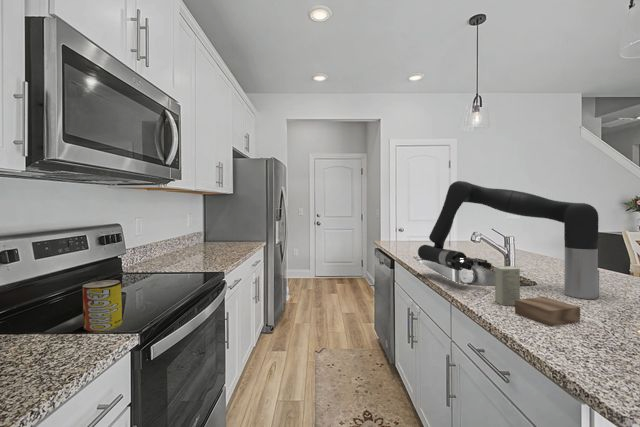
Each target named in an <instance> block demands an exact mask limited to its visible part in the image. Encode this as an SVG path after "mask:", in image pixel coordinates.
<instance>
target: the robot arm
mask: <svg viewBox="0 0 640 427" xmlns="http://www.w3.org/2000/svg"><path fill="white" fill-rule="evenodd" d="M464 203H468V204H469V203H471V204H478V205H479V204H480V205H483V206H486V207H489V208H491V209H494V210H497V211H500V212H503V213H507V214H511V215H517V216H522V217H529V218H539V219H548V220H552V221H555V222H559V223H562V224H564V233H563V234H564V236H563V239H564V281H563V282H564V286H563V287H564V292H563V293H564V295H566V296H568V297H572V298H577V299H587V300H594V299H595V300H596V299H598V297H600V270H599V268H598V266H599V265H598V264H599V249H598V248H599V213H598V210H597V209H596V208H595V207H594V206H593V205H591V204H588V203H585V202H584V203H583V202H568V201H559V200H553V199H549V198H546V197H543V196H540V195H536V194H532V193H528V192H524V191H519V190H513V189H505V188H491V187H490V188H489V187H485V186H480V185H478V184H474V183H471V182H467V181H465V180H464V181H463V180H459V181H455V182H452V183H451V184H450V185H449V186H448V190H447V193H446V195H445V200H444V203H443V206H442V208H441V211H440V213H439V216H438V217H437V220H436V222H435V224H434V226H433V228H432V230H431V232H430V234H429V237H428V239H429V240H430V242H432V243H434V245H433V246H432V245H429V244H423V245H420V246H419V247H418V249H417V255H418V257H419V258H420V259H421V260H423V261H427V262H428V261H429V262H432V263H436V264H438V265H441V266H444V267H446V268H448V269H453V270H456V271H462V270H463V269H464V270H468V271H472V268H474V269H477V268H483V269H486V270H487V269H488V270H491V269H492V263H491V262H488V260H487V259H482V258H478V257H475V258H474V257H468V256H467V255H466V254H465V253H464V252H462V251H458V250H453V249H445V248H444V246H445V241H446V240H447V238H448V236H449V234H450V232H451V230H452V227H453V224H454V219H455V217H456V214H457V212H458V210H459V208H460V207H462V204H464Z"/></svg>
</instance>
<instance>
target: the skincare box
mask: <svg viewBox="0 0 640 427" xmlns="http://www.w3.org/2000/svg"><path fill="white" fill-rule="evenodd" d="M520 272H521V270H520V268H518V267H516V266H512V265H506V266H494V282H495V283H494V288H495V289H494V291H495V293H494V298H495V302H496V303H498V304H499V305H500V306H515V300H518V299H521V291H520V290H521V289H520V288H521V287H520V285H521V284H520V283H521V281H520V280H521V279H520V276H521V275H520Z"/></svg>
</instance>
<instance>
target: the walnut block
mask: <svg viewBox="0 0 640 427" xmlns="http://www.w3.org/2000/svg"><path fill="white" fill-rule="evenodd" d="M514 314H515V315H518V316H521V317H524V318H527V319H529V320H531V321H535V322H537V323H540V324H542V325H546V326H548V327H555V326H561V324H562V325H568V323H569V324H575V322H576V323H580V322H581V306H578V305H573V304H570V303H566V302H563V301H559V300H556V299H553V298H548V297H545V296H537V297H528V298H520V299H518V300H515V305H514Z"/></svg>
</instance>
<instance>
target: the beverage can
mask: <svg viewBox="0 0 640 427" xmlns="http://www.w3.org/2000/svg"><path fill="white" fill-rule="evenodd" d="M122 301H123V300H122V281H121V280H117V279H108V280H100V281H99V280H98V281H93V282H89V283H85V284H83V285H82V314H83V315H82V317H83V320H82V322H83V331H84V332H86V333H87V332H88V333H98V332H105V331H109V330H113V329H116V328H118V327H120V326H121V325H122V324H123V307H122V306H123V305H122V304H123V303H122Z"/></svg>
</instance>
